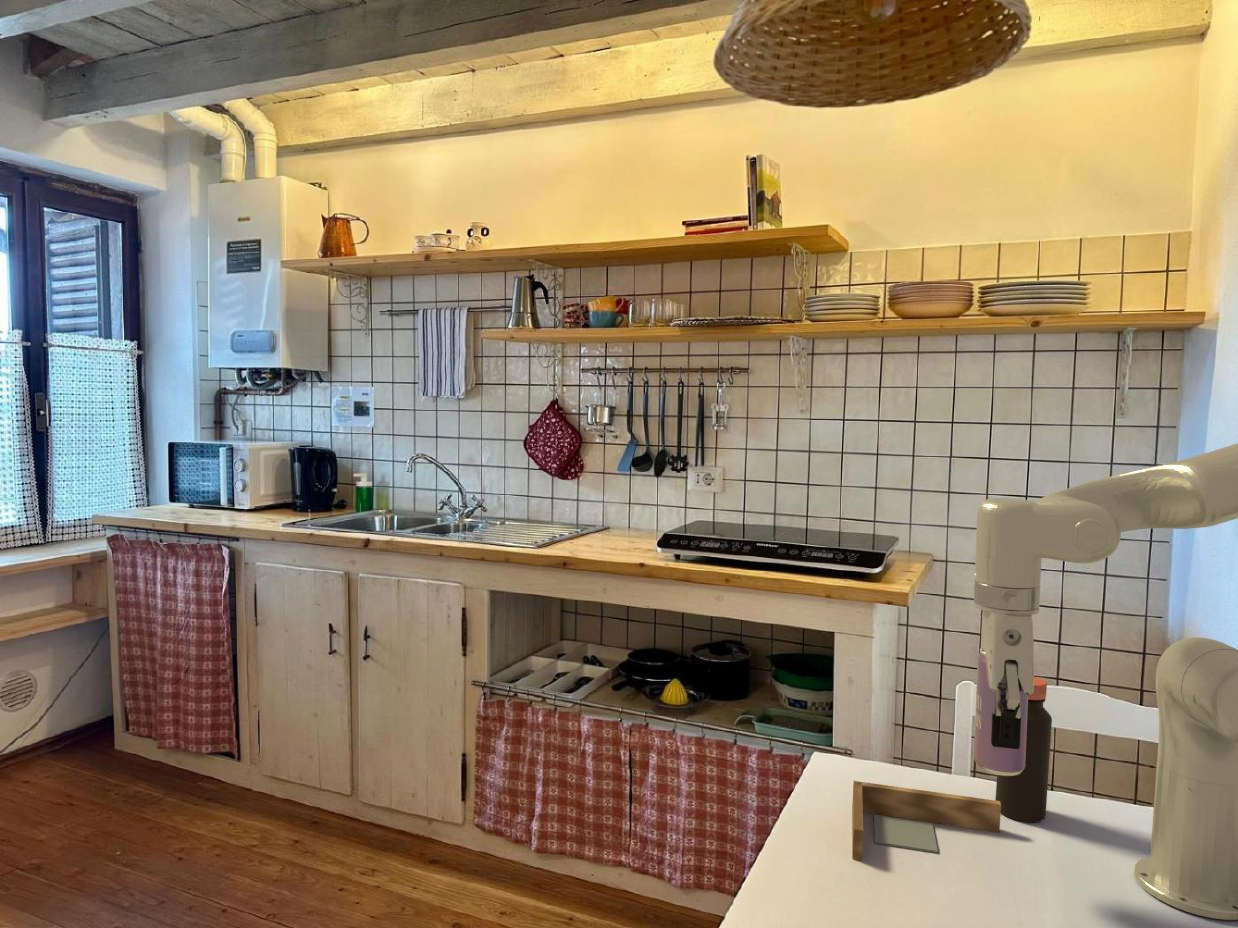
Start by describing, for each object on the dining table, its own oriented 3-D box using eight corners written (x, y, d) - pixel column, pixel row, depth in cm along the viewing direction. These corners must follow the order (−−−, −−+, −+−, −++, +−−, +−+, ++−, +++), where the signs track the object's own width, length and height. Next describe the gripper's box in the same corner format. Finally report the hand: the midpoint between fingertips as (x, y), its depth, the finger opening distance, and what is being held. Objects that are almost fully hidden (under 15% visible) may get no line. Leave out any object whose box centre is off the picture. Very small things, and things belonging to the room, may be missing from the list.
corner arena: (998, 828, 120) (999, 800, 120) (1018, 885, 105) (1020, 854, 105) (852, 806, 125) (853, 780, 125) (852, 858, 111) (853, 828, 110)
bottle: (1027, 827, 120) (1035, 690, 119) (985, 807, 126) (993, 676, 125) (1055, 817, 124) (1064, 683, 123) (1013, 798, 130) (1021, 670, 128)
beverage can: (1030, 779, 104) (1035, 659, 103) (979, 774, 105) (983, 656, 104) (1018, 759, 110) (1022, 646, 109) (969, 755, 111) (973, 643, 110)
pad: (932, 825, 120) (932, 823, 120) (937, 853, 113) (937, 850, 113) (873, 816, 122) (873, 814, 122) (875, 843, 115) (875, 841, 115)
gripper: (1055, 615, 97) (1048, 767, 98) (1025, 585, 114) (1019, 716, 115) (984, 610, 99) (978, 760, 100) (965, 581, 116) (960, 710, 117)
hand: (1000, 735), depth 107 cm, fingers closed on beverage can, 6 cm apart
